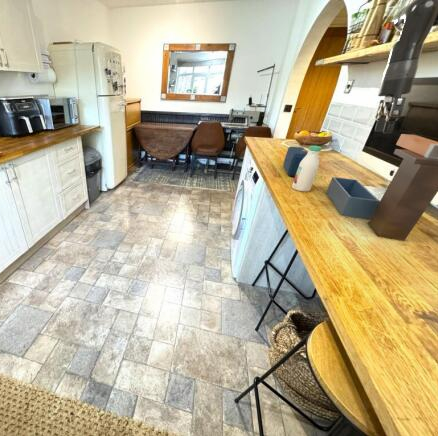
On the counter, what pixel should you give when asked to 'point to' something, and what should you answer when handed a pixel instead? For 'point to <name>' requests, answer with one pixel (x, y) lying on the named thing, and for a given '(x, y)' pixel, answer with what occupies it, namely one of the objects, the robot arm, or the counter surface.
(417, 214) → the shelf stand
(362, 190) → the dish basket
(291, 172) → the radio
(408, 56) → the robot arm
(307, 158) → the milk bottle
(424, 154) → the orange brown bar
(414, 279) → the counter surface
